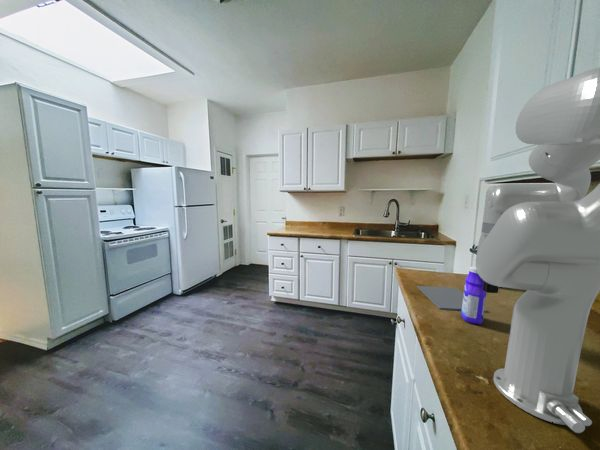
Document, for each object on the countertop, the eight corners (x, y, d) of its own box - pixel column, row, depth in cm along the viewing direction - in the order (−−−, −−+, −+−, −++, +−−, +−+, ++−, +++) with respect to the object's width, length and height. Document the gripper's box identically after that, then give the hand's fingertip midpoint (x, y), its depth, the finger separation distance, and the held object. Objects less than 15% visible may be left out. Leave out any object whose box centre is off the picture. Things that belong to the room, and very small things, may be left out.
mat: (487, 312, 81) (487, 310, 81) (439, 309, 83) (439, 307, 83) (455, 289, 101) (455, 287, 101) (416, 287, 103) (417, 285, 103)
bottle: (459, 312, 81) (464, 263, 79) (479, 316, 78) (486, 266, 76) (462, 322, 74) (468, 269, 72) (484, 327, 72) (491, 272, 70)
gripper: (536, 235, 58) (525, 304, 61) (493, 226, 73) (486, 282, 75) (504, 234, 59) (494, 303, 61) (468, 225, 74) (461, 281, 76)
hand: (490, 291), depth 68 cm, fingers closed
